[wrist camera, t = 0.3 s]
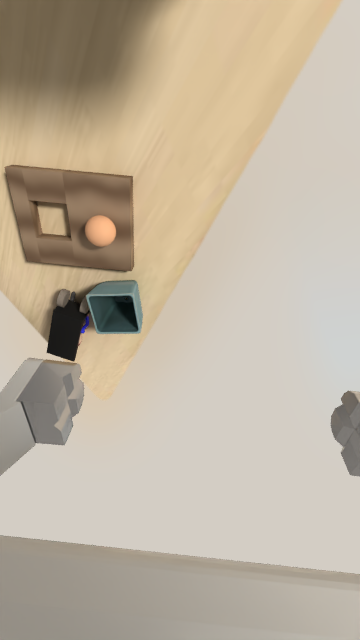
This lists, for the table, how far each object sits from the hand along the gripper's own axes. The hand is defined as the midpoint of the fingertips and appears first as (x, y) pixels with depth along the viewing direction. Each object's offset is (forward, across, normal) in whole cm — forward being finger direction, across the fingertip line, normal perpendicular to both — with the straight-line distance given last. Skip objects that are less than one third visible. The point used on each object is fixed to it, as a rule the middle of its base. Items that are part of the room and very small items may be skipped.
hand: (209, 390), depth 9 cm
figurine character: (+46, +25, +30) cm, 61 cm away
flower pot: (+46, +14, +23) cm, 54 cm away
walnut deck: (+46, +22, +9) cm, 52 cm away
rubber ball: (+41, +16, +9) cm, 45 cm away
